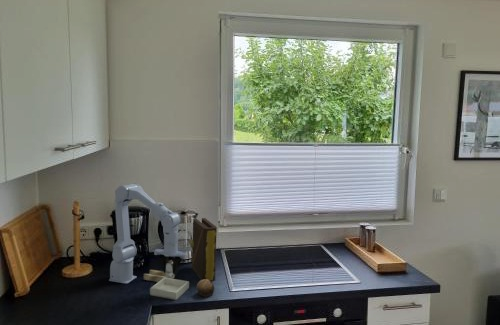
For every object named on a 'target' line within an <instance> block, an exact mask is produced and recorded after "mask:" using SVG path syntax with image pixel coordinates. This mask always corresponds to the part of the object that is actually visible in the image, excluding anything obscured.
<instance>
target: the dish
mask: <svg viewBox="0 0 500 325" xmlns="http://www.w3.org/2000/svg"><path fill="white" fill-rule="evenodd" d="M189 288H190V281H187V280H183V279H178V278H177V279H176V278H173V279H170V278H163V279H162V280H160V281H159V282H156V284H154V285H152V286H151V287H150V288H149V291H150V292H149V294H150V295H149V296H153V297H156V298H157V297H158V298H163V299H170V300H175V301H177V300H178V299H179V298H181V296H182V295H183V294H185V292H187V291H188V290H189Z"/></svg>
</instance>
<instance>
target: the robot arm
mask: <svg viewBox="0 0 500 325" xmlns="http://www.w3.org/2000/svg"><path fill="white" fill-rule="evenodd" d="M114 195H115V196H114V197H115V198H114V210H115V211H114V213H115V221H116V233H117V237H116V238H117V240H116V242H115V243H114V244H113V249H112V253H111V254H112V256H111V257H112V261H111V263H110V267H109V279H108V281H109V282H113V283H114V282H115V283H121V284H125V285H127V284H129V283H130V282H132V281H134V280H135V279H137V276H136V275H134V270H133V269H134V260H135V256H137V250H138V249H137V247H136V245H135V241H134V240H133V239H131V230H130V217H129V206H128V205H129V204H130V203H131V202H132V201H133V200H137V201H139V202H140V203H142V204H143V205H145V206H146V207H147V208H148V209H150V213H151V214H152V215H153V216H154V217H155V218H156V219H157V220H159V221H160V222H161V226H162V228H163V238H164V239H163V249H162V248H161V249H159V248H156V249H155V250H154V254H153V255H154V256H158V255H159V257H158V258H157V259H158V260H159V263H160V264H161V268H162V272H164V273H165V270H166V261H169V258H170V257H171V258H172V259H171V260H172V261H173V274H175V275H177V273H178V270H179V267H180V264H181V262H182V260H186V259H188V253H187V252H183V251H180V250H178V248H179V226H180V224H181V223H182V218H181V216H180V214H179V213H178V212H176V211H175V212H174V211H172V210H171V209H169V208H167V207H166V206H165V204H164V203H163V202H156V201H155V200H154V199H153V198H151V197H150V195H149V194H147V193H146V191H144V189H143V186H140V184H139V183H135V182H134V183H131V184H125V185H119V186H118V187H117V188H116V189H115V190H114Z"/></svg>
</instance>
